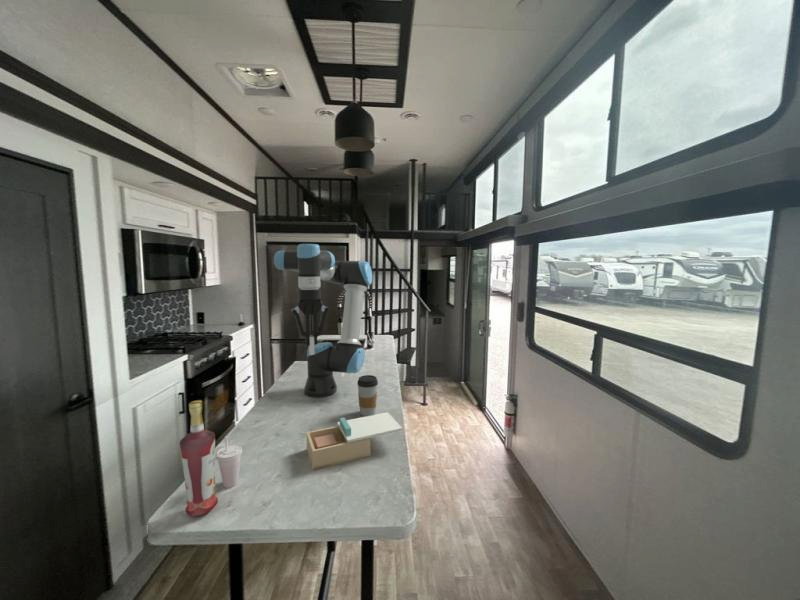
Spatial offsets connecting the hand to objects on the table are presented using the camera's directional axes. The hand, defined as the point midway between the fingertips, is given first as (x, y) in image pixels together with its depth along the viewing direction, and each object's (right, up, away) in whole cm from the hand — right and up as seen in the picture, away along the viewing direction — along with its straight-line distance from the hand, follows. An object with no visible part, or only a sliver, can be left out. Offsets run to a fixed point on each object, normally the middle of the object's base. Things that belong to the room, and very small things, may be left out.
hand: (311, 353), depth 118 cm
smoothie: (-15, -32, -26) cm, 44 cm away
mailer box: (+12, -30, -11) cm, 34 cm away
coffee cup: (+19, -28, +17) cm, 37 cm away
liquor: (-18, -33, -36) cm, 52 cm away
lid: (+21, -24, -7) cm, 33 cm away
